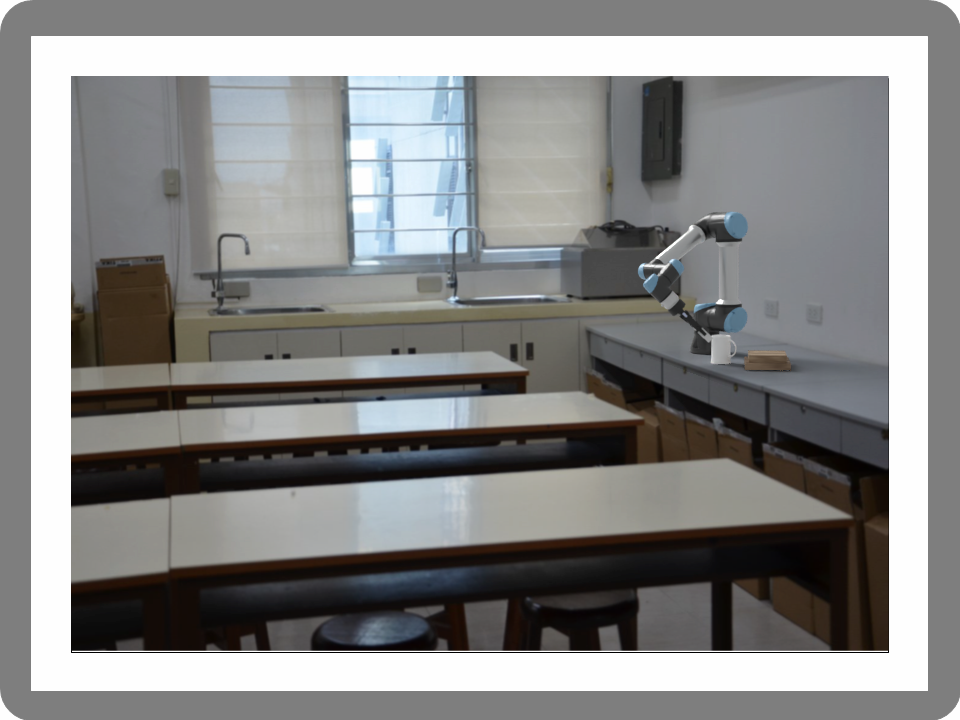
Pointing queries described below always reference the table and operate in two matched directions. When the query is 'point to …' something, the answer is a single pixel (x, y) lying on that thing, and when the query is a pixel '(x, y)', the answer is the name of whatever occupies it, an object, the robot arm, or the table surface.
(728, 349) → the mug
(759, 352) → the pedestal
